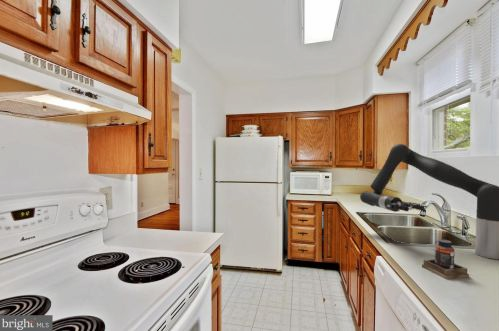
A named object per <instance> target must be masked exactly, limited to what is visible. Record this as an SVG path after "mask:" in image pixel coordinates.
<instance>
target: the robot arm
mask: <svg viewBox="0 0 499 331" xmlns="http://www.w3.org/2000/svg"><path fill="white" fill-rule="evenodd" d="M400 163H403V164H406V165H409V166H411V167H413V168H415V169H417V170H418V171H420V172H421V173H424V174H425V175H427V176H429V177H430V178H432V179H435V180H437V181H438V182H441V183H442V184H445V185H449V186H452V187H455V188H459V189H461V190H463V191H466V192H467V193H469V194H471V195H472V196H474V197H476V216H475V217H476V219H475V221H476V222H475V242H474V243H475V245H474V246H475V249H474V253H475V254H476V255H478V256H479V257H480V256H481V257H483V258H486V259H492V260H493V259H494V260H499V185H496V184H492V183H489V182H486V181H484V180H481V179H478V178H475V177H473V176H471V175H469V174H467V173H465V172H463V171H462V170H461V169H458V168H457V167H454V166H453V165H450V164H447V163H446V162H444V161H441V160H438V159H435V158H432V157H428V156H425V155H423V154H420V153H418V152H416V151H414V150H413V149H410V148H409V147H408V146H407V145H406V144H403V143H397V144H395V145H393V146H392V147H391V149H390V151H389V153H388V156H387V157H386V160H385V162H384V164H383V166H382V167H381V169H380V170H379V171H378V173H377V175H376V176H375V178H374V180H372V183H371V184H370V189H372V190H373V192H371V191H363V192H361V193H360V196H359V199H360V201H361V202H362V203H363V204H366V205H369V206H371V207H377V208H381V209H383V210H388V211H390V212H391V211H392V212H394V213H395V212H400V211H404V212H409V211H413V210H416V211H417V210H418V211H421V212H422V211H425V206H424V205H422V204H421V203H416V202H411V201H409V202H408V201H404V200H402V199H401V198H400V197H397V196H391V195H384V194H383V191H384V190H385V188H386V187H387V185H388V183H389V182H390V180H391V178H392V175H393V174H394V172H395V170H396V169H397V167H398V166H399V165H400Z"/></svg>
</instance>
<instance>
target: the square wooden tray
mask: <svg viewBox="0 0 499 331" xmlns="http://www.w3.org/2000/svg"><path fill="white" fill-rule="evenodd" d="M421 267H422V268H424V269H426V270H427V271H430V272H431V273H434V274H435V275H438V276H440V277H441V278H443V279H445V280H450V279H451V280H452V279H462V278H470V274H469V273H468V268H467V267H464V266H462V265H459V264H457V263H455V262H454V269H444V268H442V267H440V266H437V265H435V258H433V259H423V264H421Z"/></svg>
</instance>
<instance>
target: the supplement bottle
mask: <svg viewBox="0 0 499 331" xmlns="http://www.w3.org/2000/svg"><path fill="white" fill-rule="evenodd" d="M437 243H438V244H436V245H435V248H434V250H435V251H434V253H435V254H434V259H435V265H437V266H440V267H442V268H444V269H454V263H455V248H454V247H453V246H452V241H450V240H448V239H438V242H437Z"/></svg>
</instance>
